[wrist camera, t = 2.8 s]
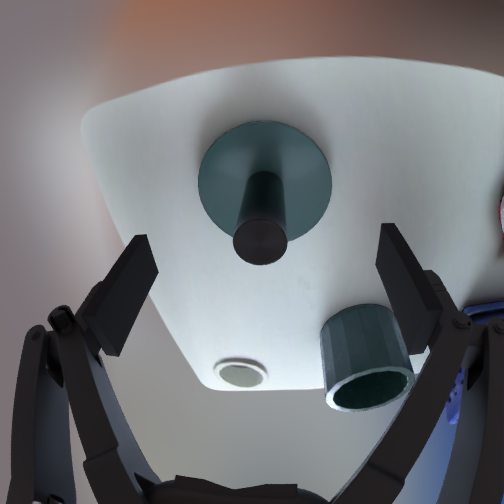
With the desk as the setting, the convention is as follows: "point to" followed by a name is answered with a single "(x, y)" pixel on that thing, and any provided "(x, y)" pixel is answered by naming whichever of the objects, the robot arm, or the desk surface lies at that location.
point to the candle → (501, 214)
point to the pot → (364, 359)
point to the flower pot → (453, 403)
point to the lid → (264, 187)
